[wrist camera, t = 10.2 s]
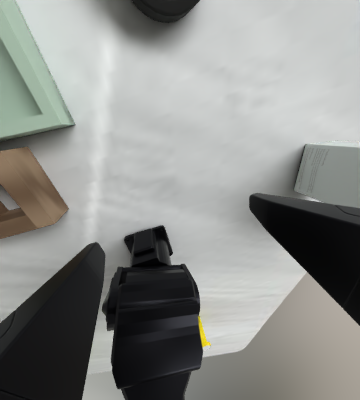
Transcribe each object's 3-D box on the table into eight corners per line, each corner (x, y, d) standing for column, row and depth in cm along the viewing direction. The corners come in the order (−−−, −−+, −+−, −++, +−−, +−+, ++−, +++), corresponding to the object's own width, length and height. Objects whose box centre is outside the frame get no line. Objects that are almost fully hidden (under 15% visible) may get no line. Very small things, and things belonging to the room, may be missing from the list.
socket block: (68, 208, 20) (54, 223, 17) (4, 226, 19) (-24, 245, 16) (27, 146, 16) (-1, 151, 13) (-55, 165, 15) (-106, 174, 12)
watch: (203, 321, 41) (212, 350, 36) (193, 325, 40) (201, 354, 35) (200, 312, 38) (210, 342, 33) (190, 315, 37) (198, 347, 32)
